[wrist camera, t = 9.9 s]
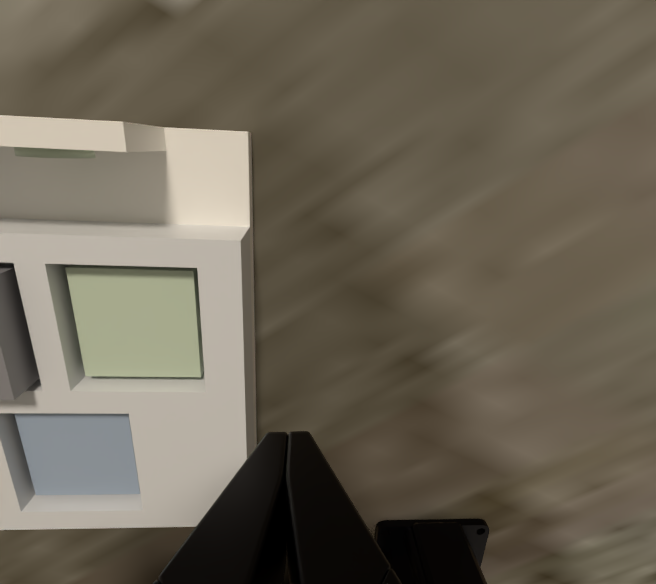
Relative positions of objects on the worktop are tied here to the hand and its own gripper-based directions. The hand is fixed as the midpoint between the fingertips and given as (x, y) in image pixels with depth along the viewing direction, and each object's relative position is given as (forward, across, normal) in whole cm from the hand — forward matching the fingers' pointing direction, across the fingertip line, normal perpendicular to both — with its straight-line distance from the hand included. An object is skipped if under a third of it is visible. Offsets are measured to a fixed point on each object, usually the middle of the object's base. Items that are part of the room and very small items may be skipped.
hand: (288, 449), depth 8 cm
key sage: (+9, +6, +1) cm, 11 cm away
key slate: (+9, +9, +7) cm, 15 cm away
